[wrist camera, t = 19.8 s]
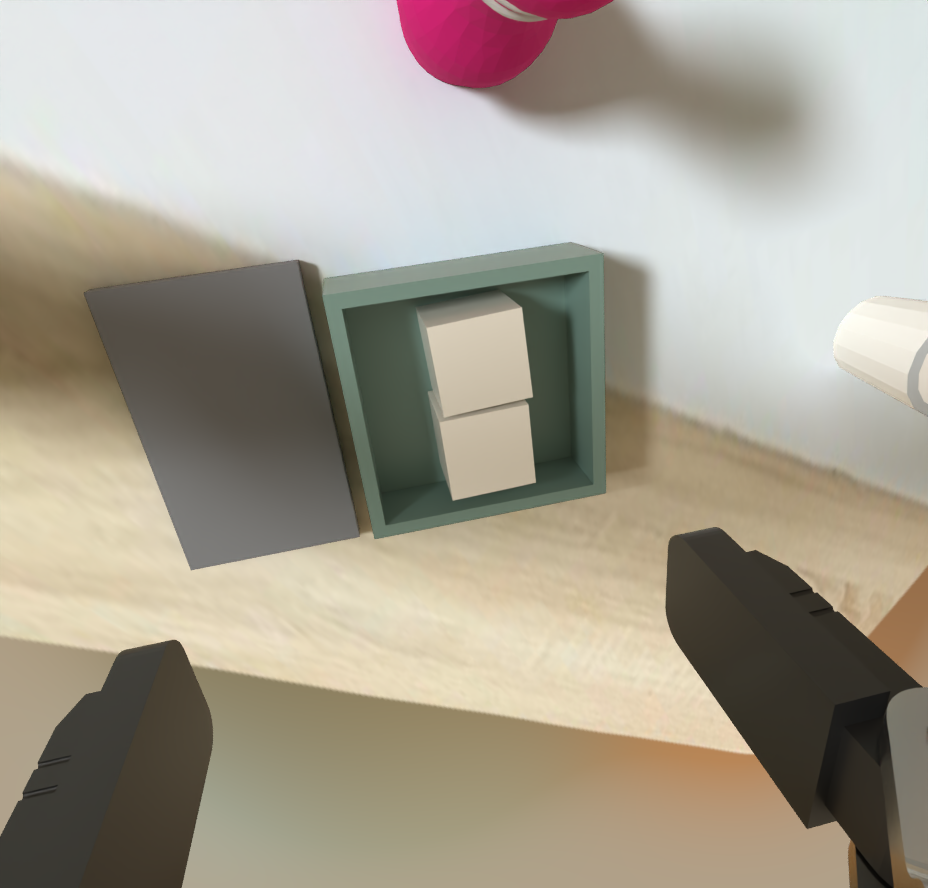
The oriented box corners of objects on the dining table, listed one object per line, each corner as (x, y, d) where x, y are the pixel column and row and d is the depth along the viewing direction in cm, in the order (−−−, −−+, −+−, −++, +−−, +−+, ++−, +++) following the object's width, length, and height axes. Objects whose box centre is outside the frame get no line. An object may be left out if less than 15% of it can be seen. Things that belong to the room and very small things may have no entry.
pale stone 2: (440, 462, 39) (452, 500, 35) (427, 391, 37) (439, 422, 33) (514, 447, 40) (535, 482, 35) (506, 376, 38) (528, 404, 33)
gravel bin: (370, 498, 40) (374, 539, 36) (324, 278, 34) (322, 295, 30) (577, 458, 42) (606, 493, 38) (570, 242, 36) (603, 253, 31)
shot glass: (806, 347, 42) (888, 379, 36) (882, 265, 40) (981, 284, 34) (857, 399, 45) (941, 437, 38) (930, 324, 43) (1030, 351, 37)
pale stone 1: (431, 386, 37) (444, 417, 32) (415, 307, 35) (426, 328, 30) (510, 369, 37) (532, 397, 33) (498, 289, 35) (521, 307, 31)
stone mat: (194, 561, 40) (191, 570, 39) (90, 289, 32) (83, 292, 31) (359, 528, 41) (359, 536, 40) (298, 259, 33) (297, 262, 33)
